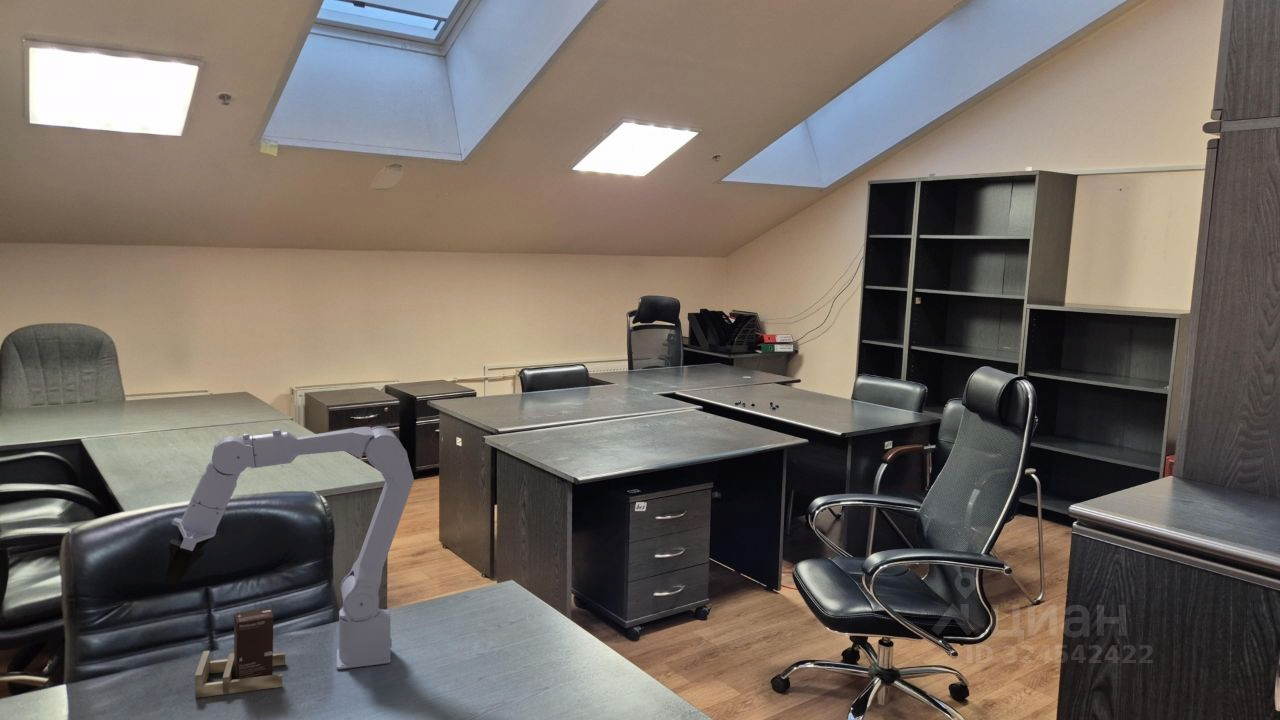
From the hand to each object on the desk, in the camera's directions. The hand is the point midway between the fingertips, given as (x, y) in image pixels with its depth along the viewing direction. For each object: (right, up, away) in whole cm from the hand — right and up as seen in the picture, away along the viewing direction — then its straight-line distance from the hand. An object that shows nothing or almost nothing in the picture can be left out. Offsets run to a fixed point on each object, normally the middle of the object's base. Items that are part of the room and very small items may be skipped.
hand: (175, 575), depth 139 cm
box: (+11, -20, +5) cm, 23 cm away
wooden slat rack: (+9, -20, +4) cm, 22 cm away
